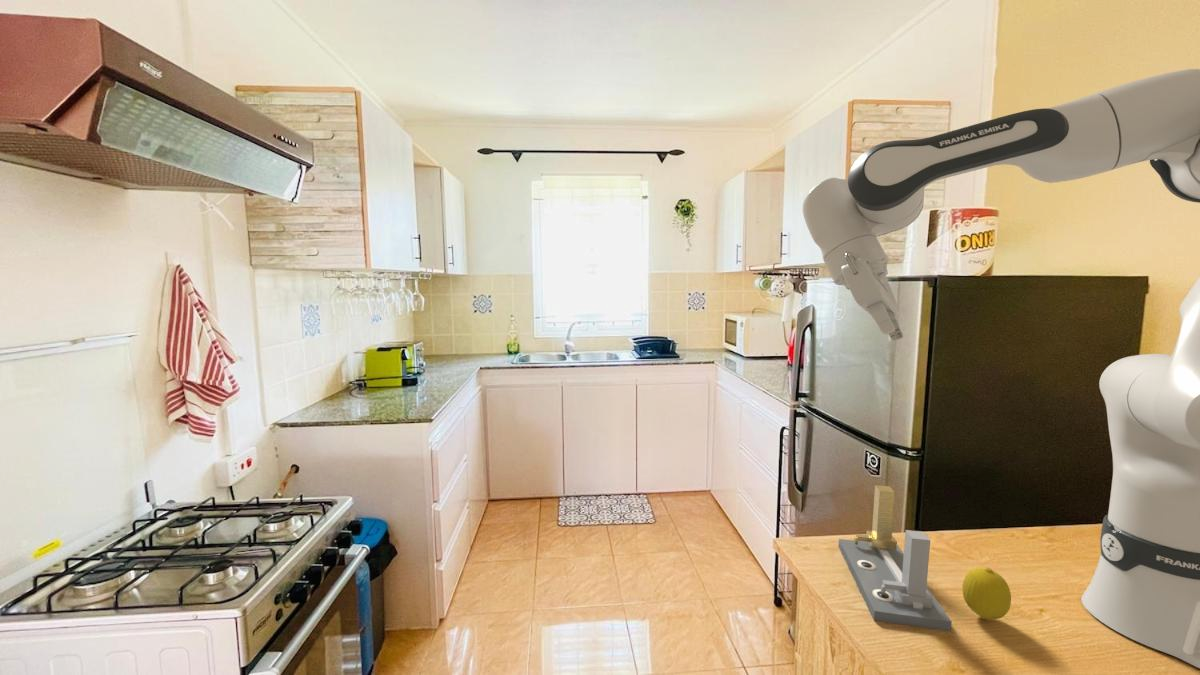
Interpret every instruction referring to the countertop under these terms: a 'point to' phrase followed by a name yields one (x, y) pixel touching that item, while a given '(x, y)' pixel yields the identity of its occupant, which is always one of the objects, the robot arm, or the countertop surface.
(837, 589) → the countertop surface
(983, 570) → the lemon
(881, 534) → the brass leg
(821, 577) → the countertop surface
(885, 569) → the board
